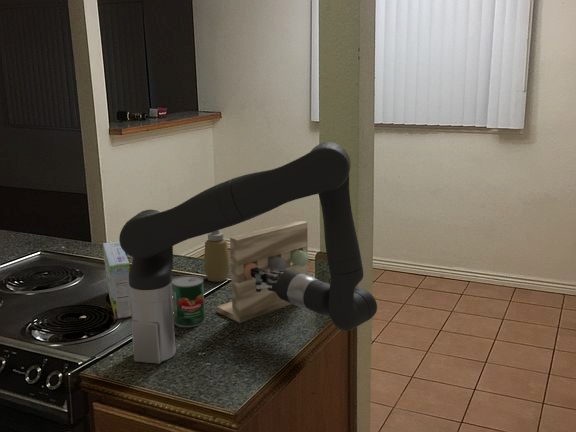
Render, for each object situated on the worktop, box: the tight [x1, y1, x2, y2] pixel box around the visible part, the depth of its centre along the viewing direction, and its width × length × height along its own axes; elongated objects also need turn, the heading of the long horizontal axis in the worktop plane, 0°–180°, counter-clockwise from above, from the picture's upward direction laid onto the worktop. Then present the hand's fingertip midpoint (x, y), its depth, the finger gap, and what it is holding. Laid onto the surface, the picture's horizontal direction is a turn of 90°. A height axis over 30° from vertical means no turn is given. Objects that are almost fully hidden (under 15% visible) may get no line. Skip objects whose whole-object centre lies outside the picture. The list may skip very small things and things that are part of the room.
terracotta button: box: [244, 262, 258, 279], centre depth 161 cm, size 4×4×4 cm
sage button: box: [291, 249, 310, 267], centre depth 170 cm, size 4×4×4 cm
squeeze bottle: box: [203, 230, 231, 283], centre depth 190 cm, size 8×8×18 cm
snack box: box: [102, 240, 132, 320], centre depth 172 cm, size 21×6×15 cm, turn 21°
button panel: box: [215, 219, 309, 324], centre depth 169 cm, size 10×24×22 cm, turn 133°
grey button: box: [268, 256, 287, 271], centre depth 165 cm, size 4×4×4 cm
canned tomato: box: [171, 274, 206, 328], centre depth 161 cm, size 8×8×11 cm
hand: (253, 271), depth 159 cm, fingers closed
